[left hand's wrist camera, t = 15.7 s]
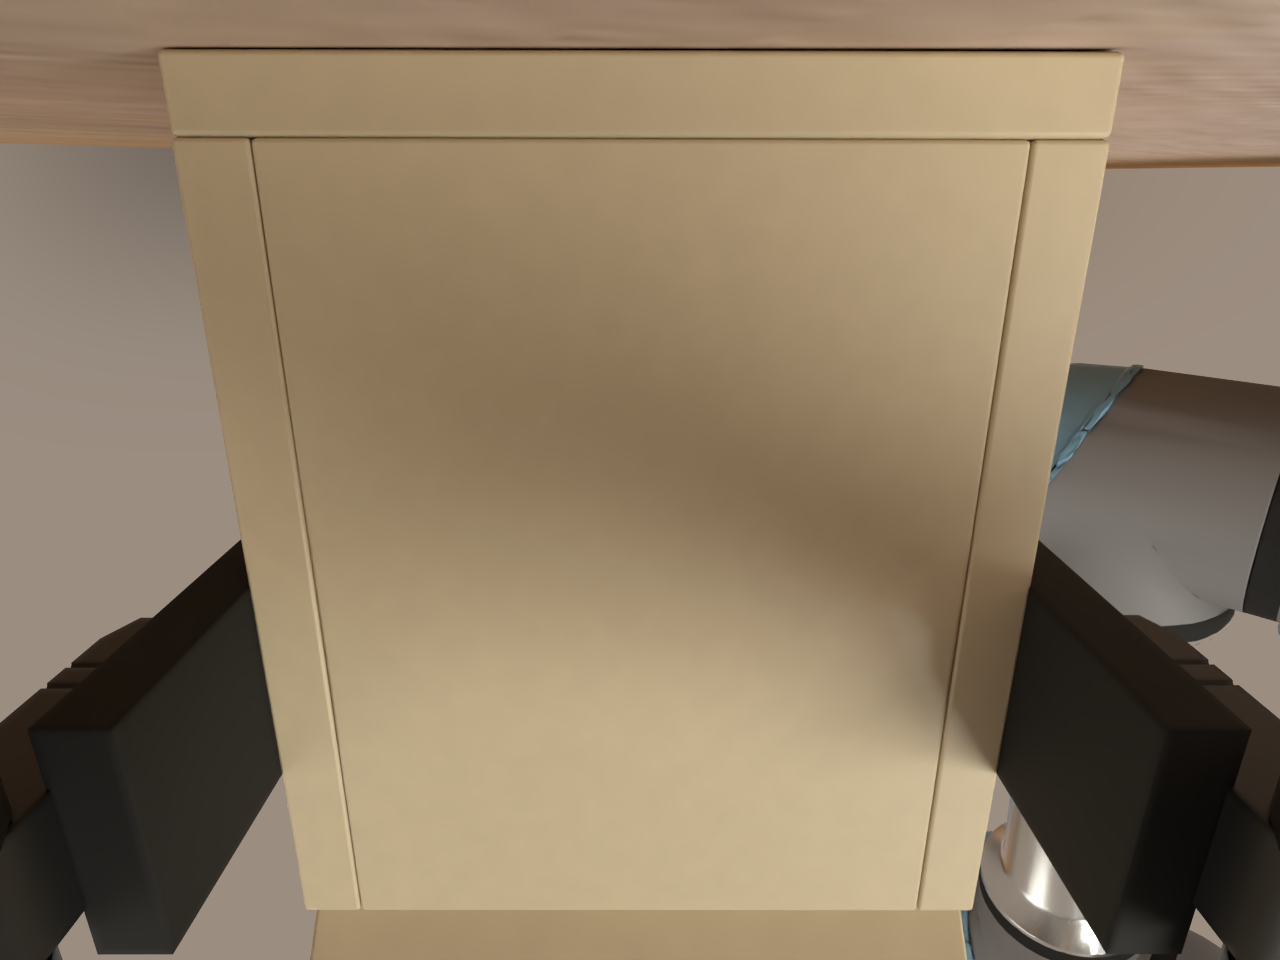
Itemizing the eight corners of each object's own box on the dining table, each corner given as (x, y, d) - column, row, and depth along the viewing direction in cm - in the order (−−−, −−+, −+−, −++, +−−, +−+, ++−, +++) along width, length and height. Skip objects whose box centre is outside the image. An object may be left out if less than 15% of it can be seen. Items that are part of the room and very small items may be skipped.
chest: (828, 142, 20) (799, 541, 24) (451, 141, 20) (478, 541, 24) (1129, 49, 8) (973, 913, 11) (152, 47, 8) (304, 911, 11)
